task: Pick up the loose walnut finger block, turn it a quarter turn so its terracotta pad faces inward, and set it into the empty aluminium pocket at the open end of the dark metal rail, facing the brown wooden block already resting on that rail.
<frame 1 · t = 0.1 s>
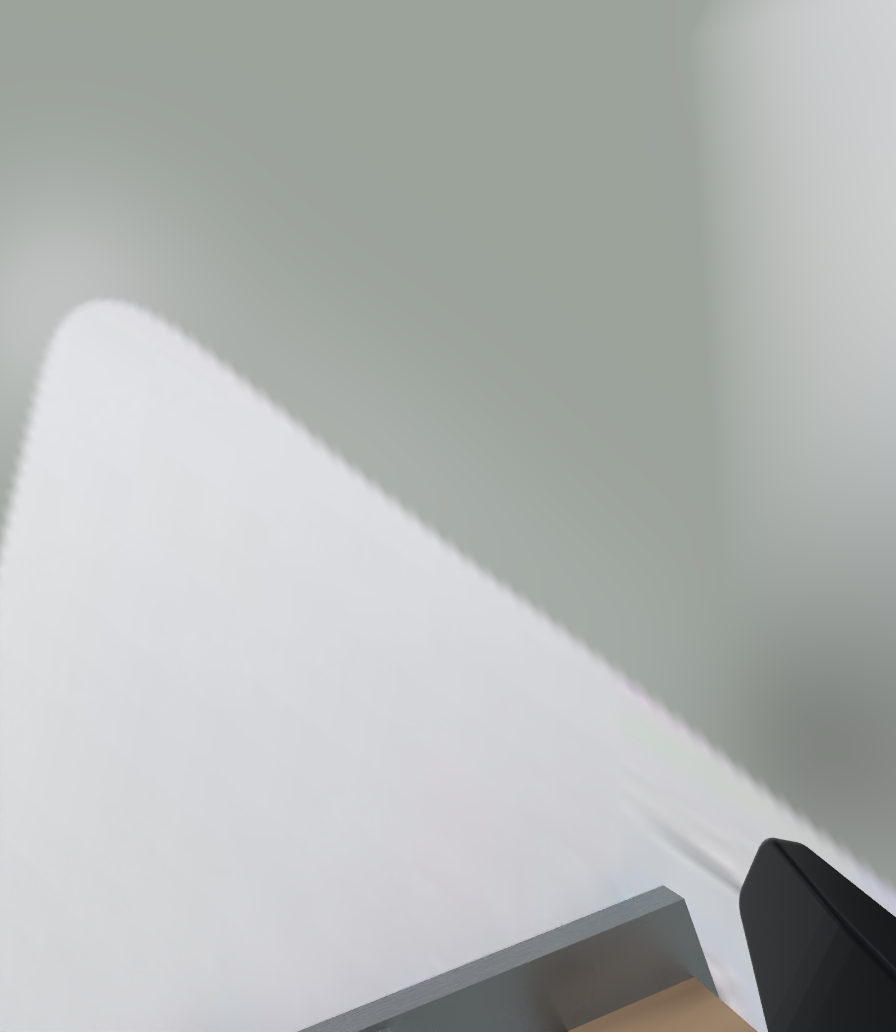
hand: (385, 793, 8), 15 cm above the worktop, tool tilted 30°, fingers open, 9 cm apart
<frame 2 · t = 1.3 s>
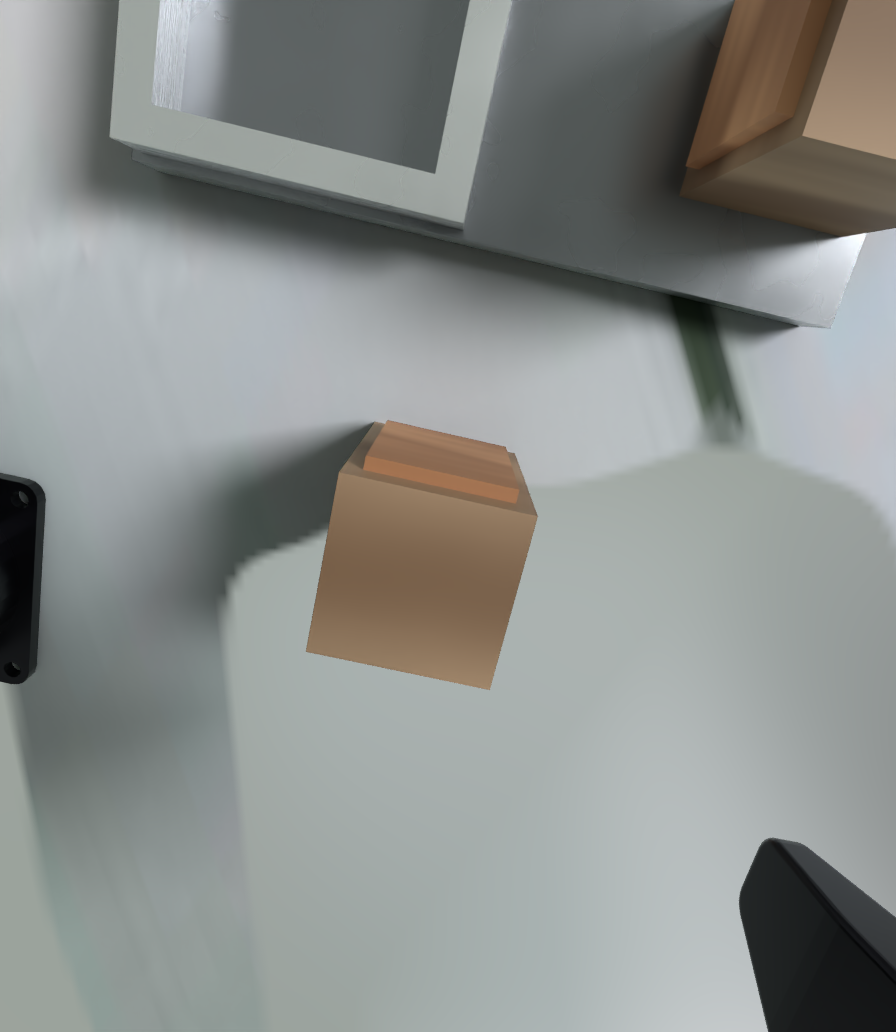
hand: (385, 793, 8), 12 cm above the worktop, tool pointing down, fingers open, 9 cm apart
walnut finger: (429, 504, 20), on the worktop
brown wooden block: (792, 122, 15), resting on rail
rail: (527, 77, 17), on the worktop
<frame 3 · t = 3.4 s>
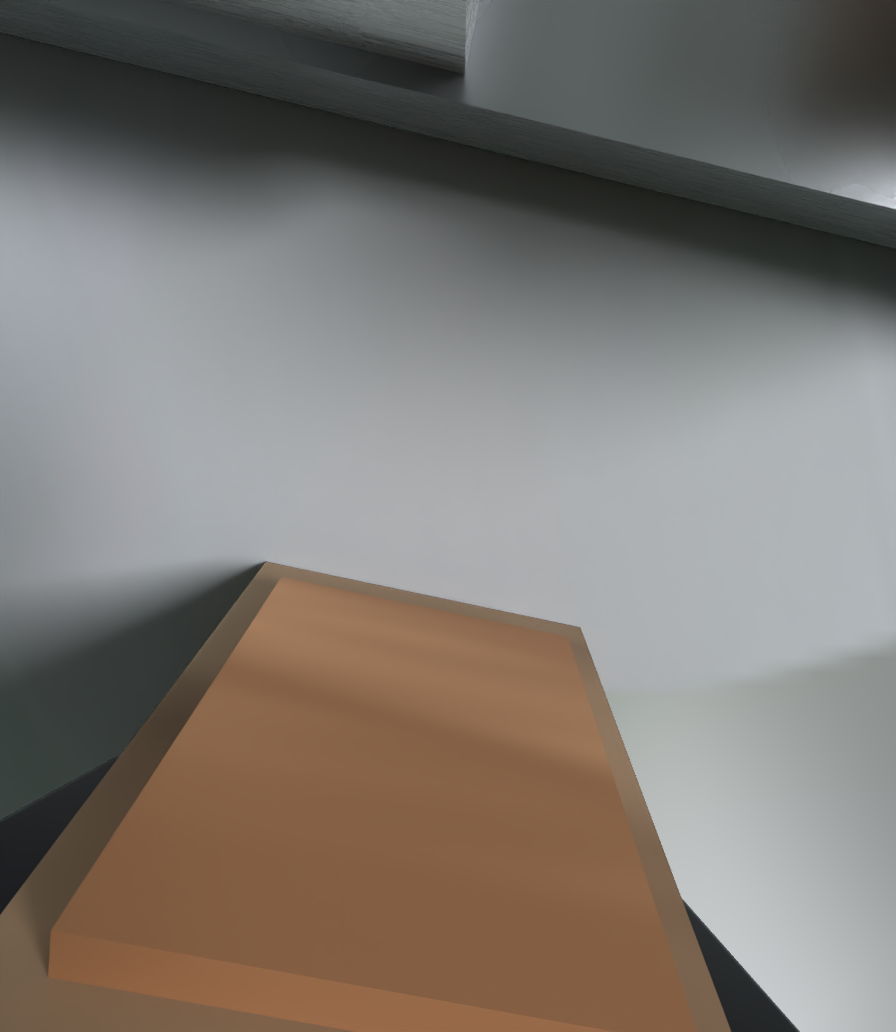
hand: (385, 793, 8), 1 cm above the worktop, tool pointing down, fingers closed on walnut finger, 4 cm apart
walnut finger: (393, 730, 9), on the worktop, touching gripper
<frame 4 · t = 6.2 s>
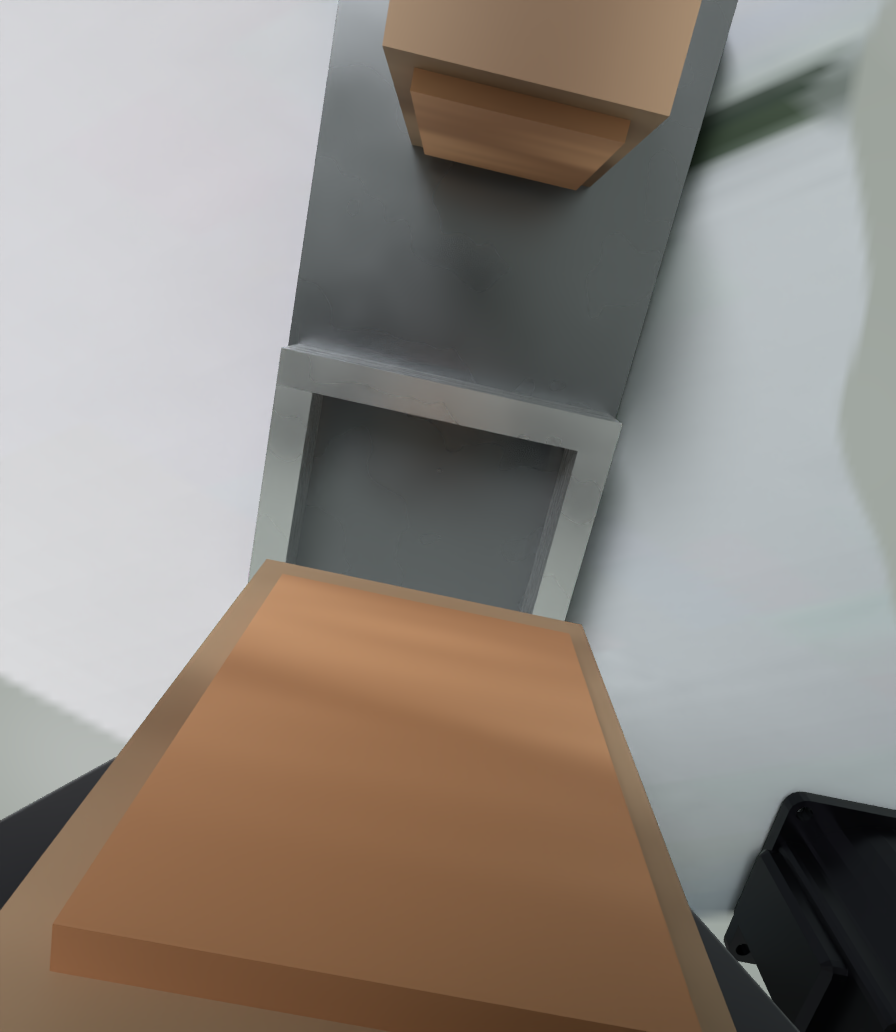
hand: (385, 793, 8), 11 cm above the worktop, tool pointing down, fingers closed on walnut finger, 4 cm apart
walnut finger: (394, 727, 9), point 10 cm above the worktop, touching gripper
brown wooden block: (523, 63, 14), resting on rail
rail: (460, 345, 18), on the worktop
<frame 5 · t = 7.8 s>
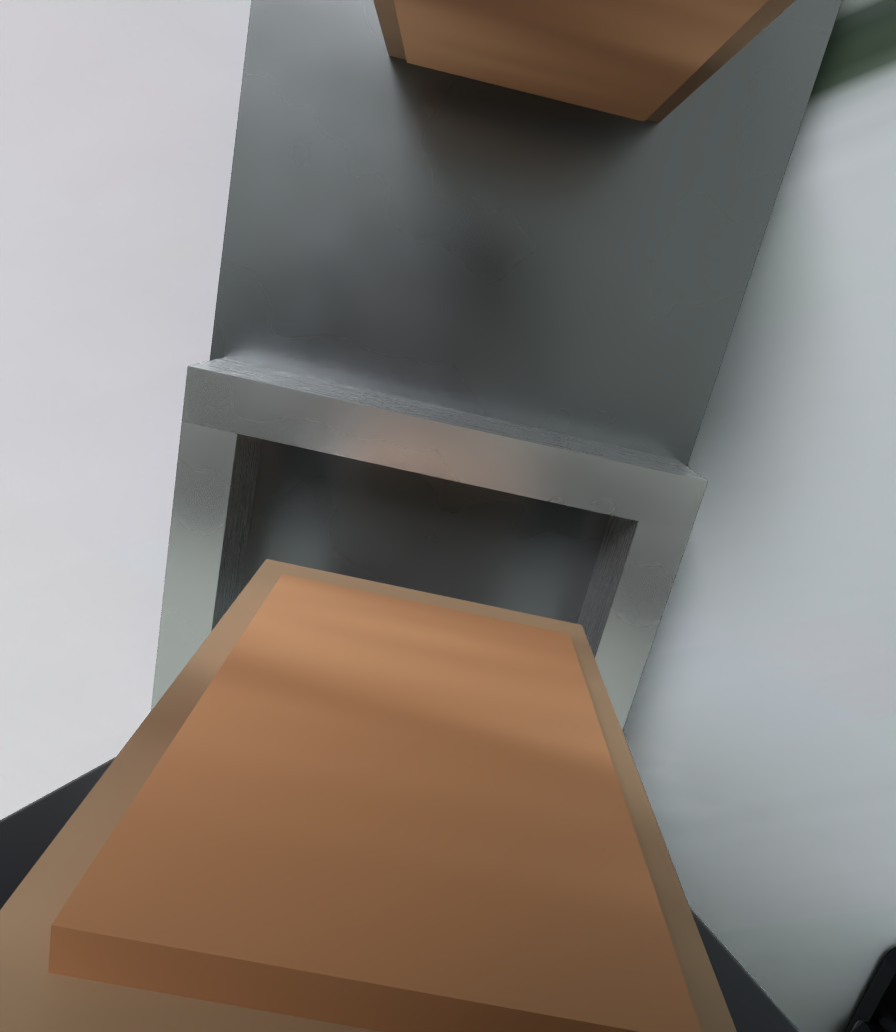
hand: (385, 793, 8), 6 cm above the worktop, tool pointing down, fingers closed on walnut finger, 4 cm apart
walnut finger: (394, 728, 9), point 5 cm above the worktop, touching gripper
rail: (462, 359, 12), on the worktop
when the fingers open (4 cm above the worktop, at t = 9.1 s): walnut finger drops 1 cm, resting on rail.
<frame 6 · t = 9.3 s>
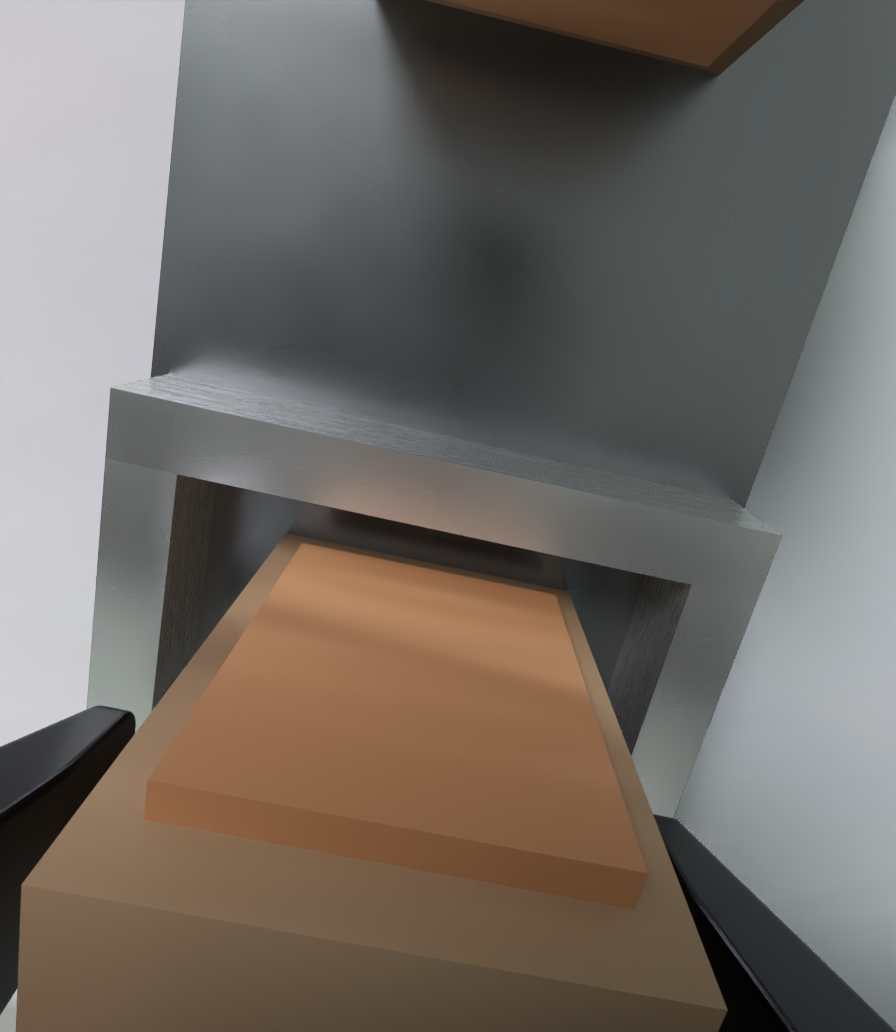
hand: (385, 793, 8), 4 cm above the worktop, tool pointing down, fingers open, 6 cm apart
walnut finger: (401, 686, 10), point 1 cm above the worktop, touching rail
rail: (466, 374, 10), on the worktop
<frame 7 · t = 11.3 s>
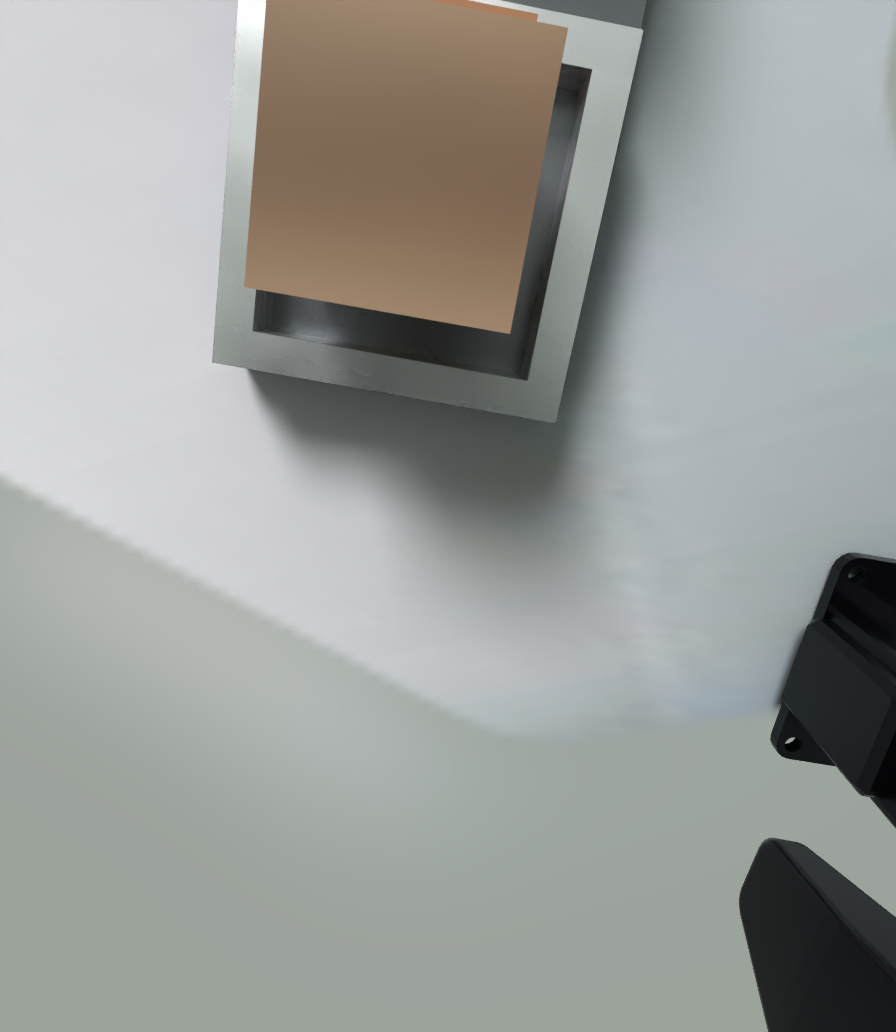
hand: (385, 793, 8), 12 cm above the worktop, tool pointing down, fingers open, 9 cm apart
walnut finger: (418, 215, 15), point 1 cm above the worktop, touching rail
rail: (452, 10, 16), on the worktop
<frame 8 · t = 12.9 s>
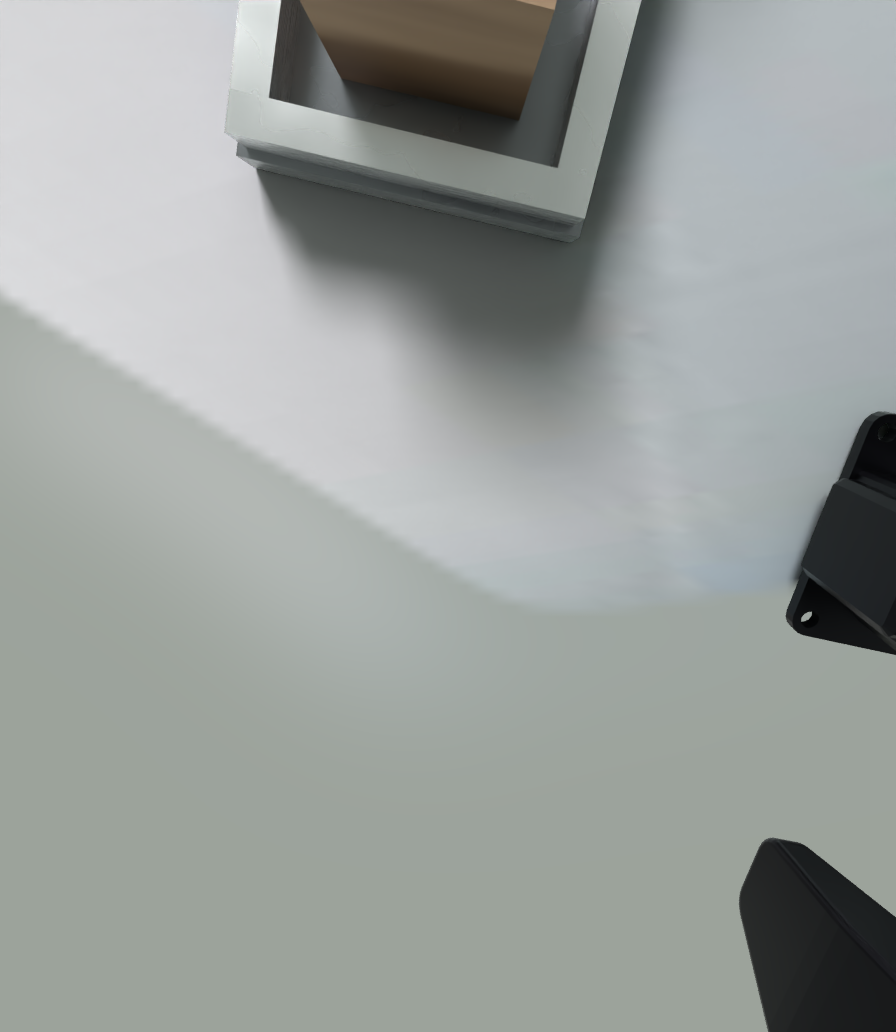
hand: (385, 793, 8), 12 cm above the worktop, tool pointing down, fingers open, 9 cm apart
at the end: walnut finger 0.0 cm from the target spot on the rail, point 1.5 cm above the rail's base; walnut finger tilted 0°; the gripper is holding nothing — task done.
